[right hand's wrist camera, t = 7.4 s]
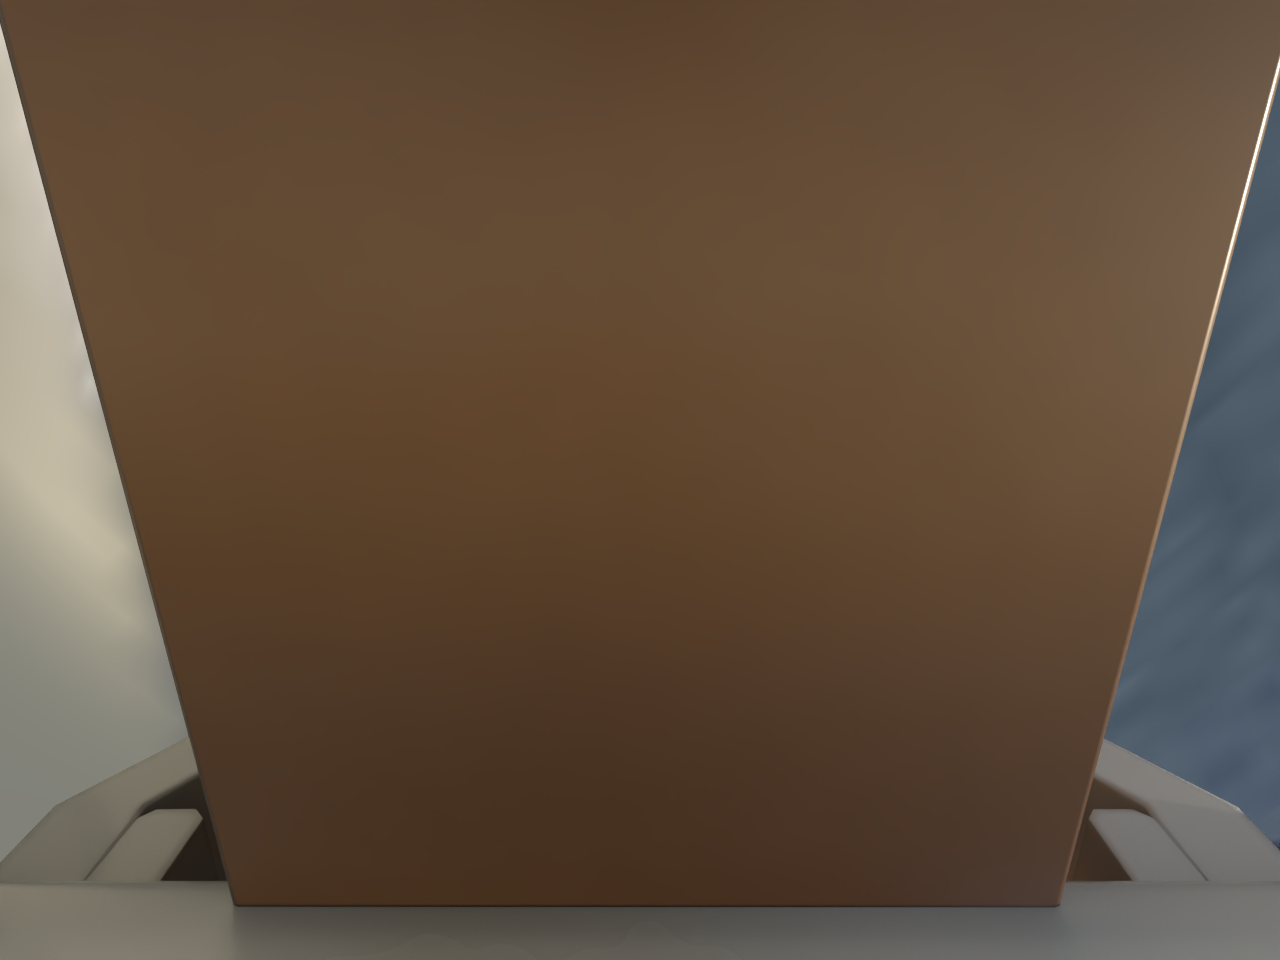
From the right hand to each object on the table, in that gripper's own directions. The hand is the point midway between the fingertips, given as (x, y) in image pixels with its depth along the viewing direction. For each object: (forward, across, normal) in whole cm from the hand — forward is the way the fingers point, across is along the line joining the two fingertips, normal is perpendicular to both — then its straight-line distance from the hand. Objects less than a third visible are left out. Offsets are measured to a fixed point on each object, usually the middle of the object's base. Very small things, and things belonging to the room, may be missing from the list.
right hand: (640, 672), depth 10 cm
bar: (+4, 0, -7) cm, 8 cm away
